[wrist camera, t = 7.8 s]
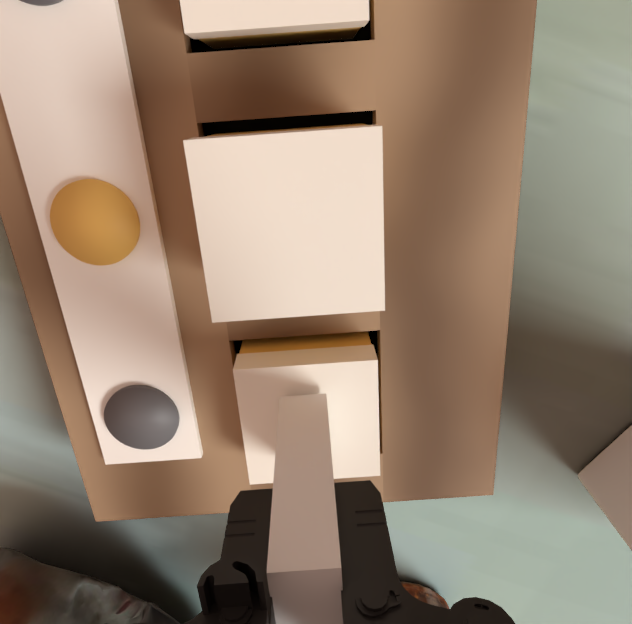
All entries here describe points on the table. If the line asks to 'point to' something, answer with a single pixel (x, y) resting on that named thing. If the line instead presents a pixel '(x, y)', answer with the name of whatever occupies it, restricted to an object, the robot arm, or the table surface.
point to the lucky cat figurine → (66, 596)
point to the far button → (305, 379)
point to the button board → (399, 240)
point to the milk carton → (613, 483)
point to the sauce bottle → (425, 594)
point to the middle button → (290, 220)
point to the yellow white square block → (272, 21)
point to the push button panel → (99, 220)
